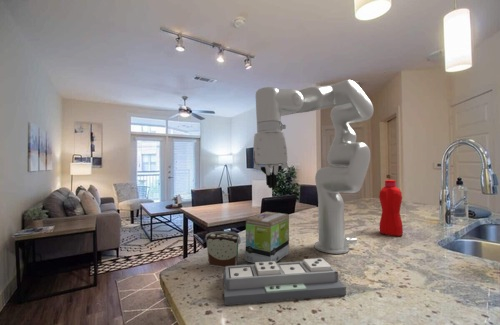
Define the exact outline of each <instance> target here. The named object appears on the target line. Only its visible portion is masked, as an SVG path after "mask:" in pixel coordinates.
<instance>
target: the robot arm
mask: <svg viewBox="0 0 500 325" xmlns="http://www.w3.org/2000/svg"><path fill="white" fill-rule="evenodd" d="M330 108H332V109H331V111H330V119H331V122H332V125H333V128H334V137H333V139H332V140H333V141H332V142H331V145H330V148H329V151H328V154H327V156H326V158H327V162H328V164H329V166H324V167H320V168H319V169H318V170H317V171H316V173H315V178H314V180H315V186H316V192H317V202H318V203H317V205H318V207H317V208H318V211H317V213H318V214H317V217H318V240H317V241H315V243H314V248H315V249H316V250H317V251H319V252H322V253H327V254H331V255H332V254H335V255H337V254H339V255H341V254H345V253H348V252H349V250H350V246H349V245H350V244H357V243H358V239H357V238H356V237H354V238H353V237H352V238H351V237H350V236H349V237H348V236H346V235H345V202H344V199H343V197H342V195H341V193H345V194H355V193H358V192H359V191H360V190H361V189H362V187H363V185H364V182H365V179H366V175H367V172H368V170H369V167H370V166H369V165H370V163H371V150H370V149H371V148H370V147H369V146H368V145H367V144H366V143H365V142H361V141H360V142H357V134H356V132H355V131H354V129H353V128H352V126H350V124H353V123H357V122H358V123H359V122H360V123H361V122H364V121H368V120H370V119H371V118H372V117H373V115H374V110H375V109H374V105H373V103H372V101H371V99H370V98H369V97H368V96H367V94H366V93H365V91H364V90H363V89H362V88H361V87H360V85H359V84H358V83H356V82H355V81H354V80H351V79H345V80H343V81H338V82H336V83H332V84H328V85H326V84H325V85H318V86H310V87H305V88H302V89H300V90H297V89H294V88H277V87H273V86H264V87H261V88H258V89H257V90H256V91H255V112H256V113H255V114H256V131H257V132H256V133H254V136H253V149H252V150H253V155H252V156H253V169H255V170H258V171H261V172H263V174H264V175H265V178H266V179H265V180H266V182H265V183H266V186H268V188H269V189H276V186H277V184H278V183H277V182H278V178H277V175H278V173H280V171H281V170H282V169H283V170H284V169H286V168H288V167H289V164H288V152H287V151H288V148H287V143H286V138H285V133H284V132H283V131H282V130H285V129H286V127H287V125H286V124H283V122H282V118H281V117H283V116H289V115H294V114H301V113H309V112H314V111H319V110H324V109H330ZM270 166H272V168H271V169H272V170H270Z"/></svg>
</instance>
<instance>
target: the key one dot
mask: <svg viewBox="0 0 500 325" xmlns="http://www.w3.org/2000/svg"><path fill="white" fill-rule="evenodd" d="M280 268H281V269H282V271H283V272H284V274H293V273H306V272H305V271H304V270H303V268H302V267H301V266H300V265H299V264H291V265H280Z"/></svg>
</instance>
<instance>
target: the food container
mask: <svg viewBox="0 0 500 325" xmlns="http://www.w3.org/2000/svg"><path fill="white" fill-rule="evenodd" d="M204 237H205V238H204V241H206V248H207V249H206V250H207V259H208V266H212V267H216V268H217V267H218V268H225V266H235V265H237V264H238V256H239V255H238V254H239V245H240V244H241V243H242V240H241V237H240V235H239V233H238V232H234V231H227V230H217V231H211V232H209V233H206V234H205V236H204Z"/></svg>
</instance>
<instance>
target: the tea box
mask: <svg viewBox="0 0 500 325" xmlns="http://www.w3.org/2000/svg"><path fill="white" fill-rule="evenodd" d="M244 253H245V258H244V260H245V262H248V263H250V264H255V262H270V261H275V262H276V263H278V262H279V261H280V260H281V259H283V258H284V257H286V256H287V255H289V253H290V215H289V214H288V213H281V212H272V211H264V212H262V213H259V214H256V215H252V216H250V217H247V218H245V252H244Z"/></svg>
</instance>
